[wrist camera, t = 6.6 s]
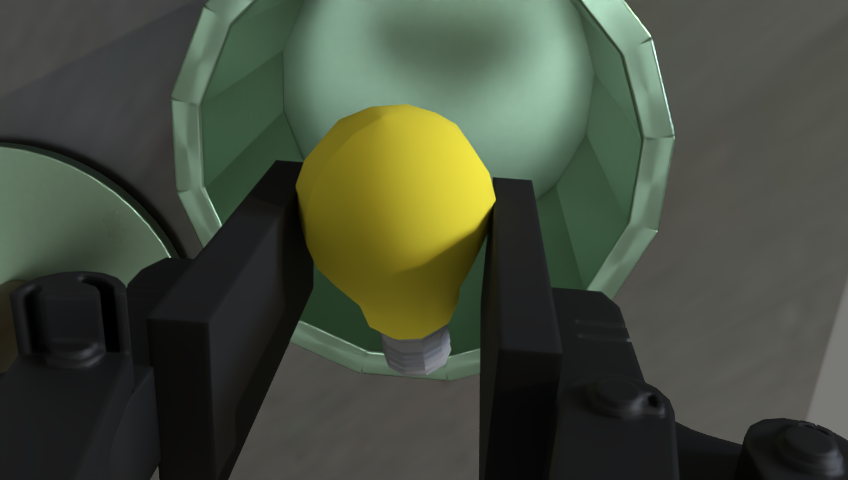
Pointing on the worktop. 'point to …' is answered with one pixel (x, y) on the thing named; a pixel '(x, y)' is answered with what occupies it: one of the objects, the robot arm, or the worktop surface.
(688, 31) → the worktop surface
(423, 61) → the tin
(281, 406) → the worktop surface
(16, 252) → the tin lid
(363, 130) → the light bulb
